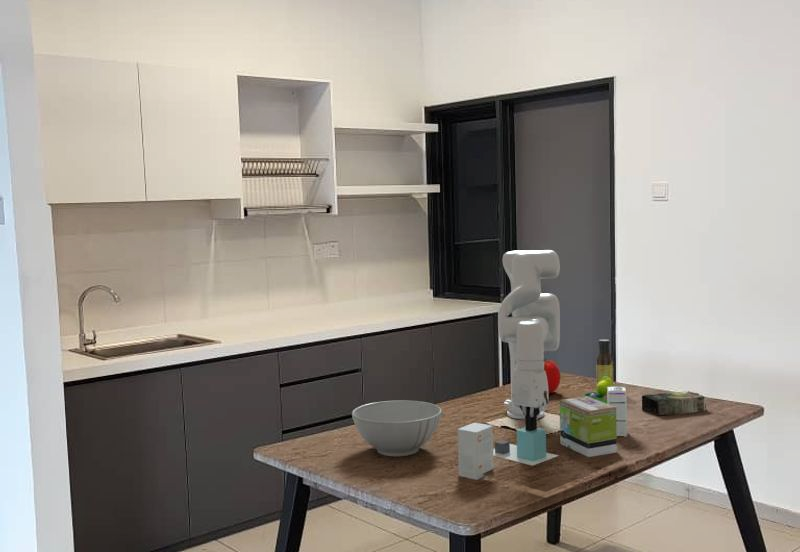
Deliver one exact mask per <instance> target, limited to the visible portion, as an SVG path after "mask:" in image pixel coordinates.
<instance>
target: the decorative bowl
mask: <svg viewBox="0 0 800 552" xmlns="http://www.w3.org/2000/svg"><path fill="white" fill-rule="evenodd" d="M442 415H443V408H441V407H440V406H439V405H437V404H434V403H431V402H426V401H421V400H420V401H418V400H405V399H403V400H402V399H401V400H399V399H398V400H396V399H395V400H386V401H377V402H376V401H375V402H371V403H366V404H362V405H361V406H358V407H356V408H354V409H353V410H352V412H351V416H352V420H353V423H354V425H355V427H356V429H357V431H358V433H359V435H360V436H361V437H362V438H363V439H364V441H365V442H366V443H367V444H368V445H370V446H371V447H373V448H374V449H376V450H377V453H378V454H380V455H383V456H385V457H387V456H388V457H407V456H411V455H414V454H416V453H417V452H419V449H420V447H423V446H424V445H425V444H426V443H427V442H428V441H429V440H431V438H432V437H433V436H434V434H435V432H436V431H437V428H438V427H439V424H440V421H441V419H442Z"/></svg>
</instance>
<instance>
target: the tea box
mask: <svg viewBox="0 0 800 552" xmlns="http://www.w3.org/2000/svg"><path fill="white" fill-rule="evenodd" d="M559 435H560V436H559V437H560V438H559V439H560V440H559V442H560V445H562V446H564V447H566V448H568V449H570V450H573V451H575V452H577V453H579V454H581V455H584V456H585V457H587V458H590V457H591V458H592V457H598V456H602V455H604V456H605V455H609V454H614V453H617V449H618V448H617V442H618V441H617V431H616V407H615V406H612V405H609V404H606V403H604V402H601V401H598V400H596V399H593V398H590V397H588V396H584V397H583V396H578V397H572V398H567V399H559Z"/></svg>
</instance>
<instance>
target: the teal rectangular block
mask: <svg viewBox="0 0 800 552" xmlns="http://www.w3.org/2000/svg"><path fill="white" fill-rule="evenodd" d="M516 445H517V457H518V458H522V459H526V460H530V461H536V460H538V459H541V458H544V457H546V453H547V429H546V428H540V427H537V429H535V430H532V431H529V430H526V429H525V427H522V428H519V429H516Z"/></svg>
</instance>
